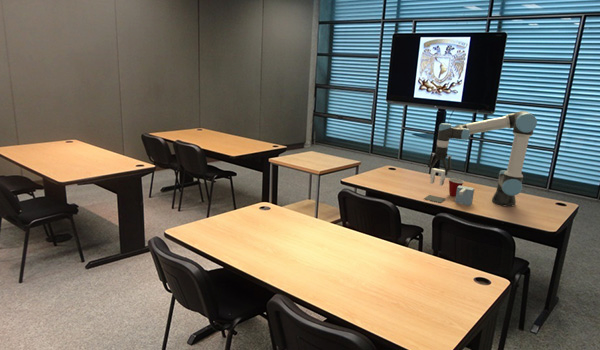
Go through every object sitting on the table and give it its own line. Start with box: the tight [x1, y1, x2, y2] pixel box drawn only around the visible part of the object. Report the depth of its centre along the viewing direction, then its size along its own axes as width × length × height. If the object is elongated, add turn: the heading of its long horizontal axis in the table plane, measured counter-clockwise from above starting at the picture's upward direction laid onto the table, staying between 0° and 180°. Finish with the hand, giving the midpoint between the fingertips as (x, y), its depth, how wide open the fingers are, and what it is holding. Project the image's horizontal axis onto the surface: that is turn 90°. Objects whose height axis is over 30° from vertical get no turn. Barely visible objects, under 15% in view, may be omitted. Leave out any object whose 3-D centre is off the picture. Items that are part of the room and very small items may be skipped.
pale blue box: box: [429, 167, 445, 186], centre depth 298 cm, size 8×4×10 cm, turn 56°
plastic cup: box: [448, 177, 465, 198], centre depth 311 cm, size 11×11×12 cm
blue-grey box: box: [454, 185, 475, 207], centre depth 292 cm, size 10×16×11 cm, turn 146°
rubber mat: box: [423, 194, 447, 204], centre depth 302 cm, size 12×12×1 cm
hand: (437, 178), depth 298 cm, fingers closed on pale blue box, 8 cm apart
